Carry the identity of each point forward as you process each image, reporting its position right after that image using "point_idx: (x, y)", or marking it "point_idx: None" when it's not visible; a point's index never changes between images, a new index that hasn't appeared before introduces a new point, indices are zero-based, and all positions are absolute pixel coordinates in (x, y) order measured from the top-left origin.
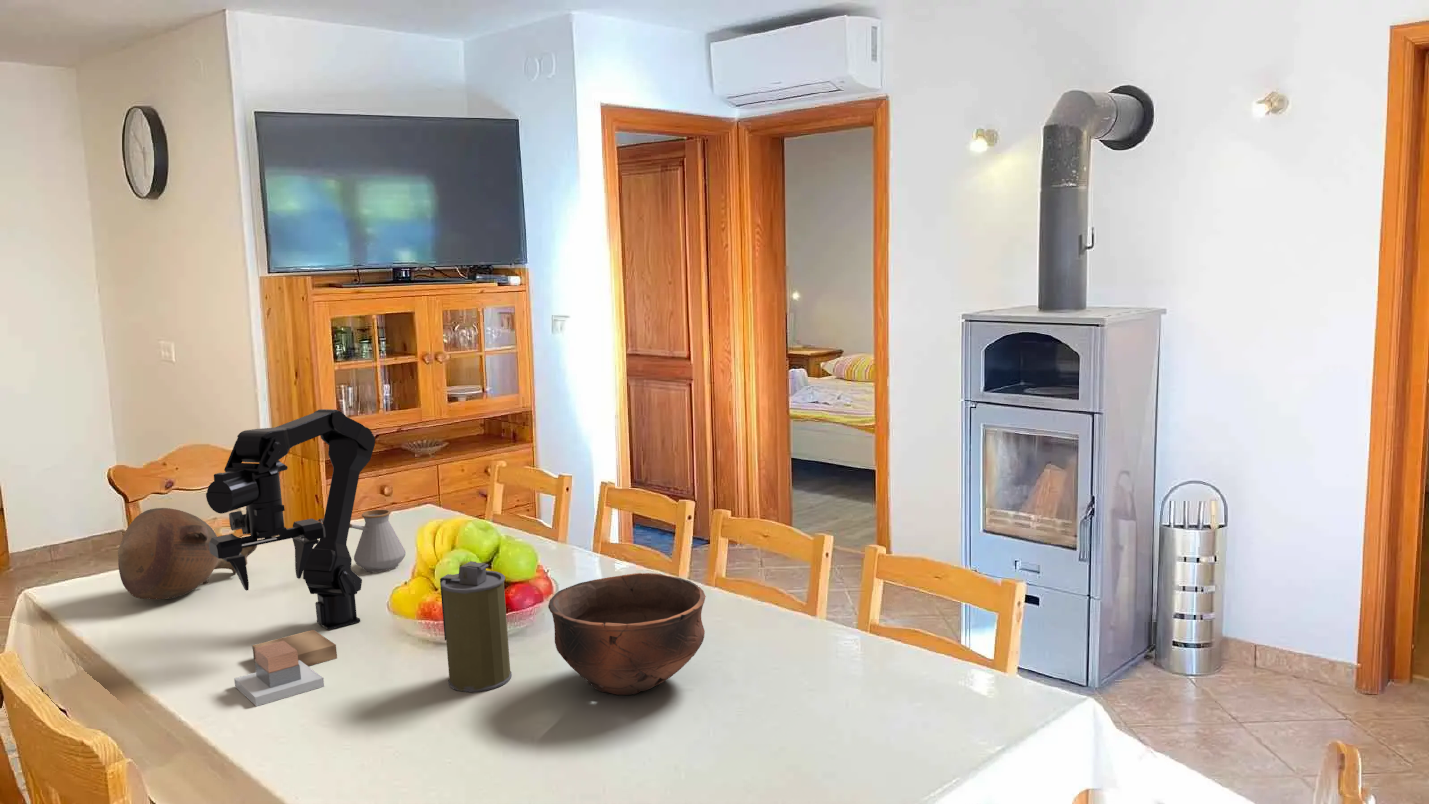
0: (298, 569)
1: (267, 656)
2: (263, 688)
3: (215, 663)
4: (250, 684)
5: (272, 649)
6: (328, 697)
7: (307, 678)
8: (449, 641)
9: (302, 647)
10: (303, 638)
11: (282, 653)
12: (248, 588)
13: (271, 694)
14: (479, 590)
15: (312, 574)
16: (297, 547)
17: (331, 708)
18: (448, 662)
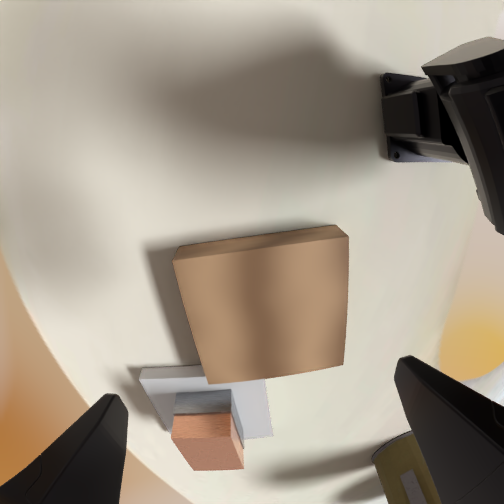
0: (414, 423)
1: (193, 466)
2: None
3: (98, 220)
4: (167, 411)
5: (204, 454)
6: (265, 446)
7: (252, 431)
8: (387, 494)
9: (282, 347)
10: (304, 291)
11: (218, 468)
12: (127, 423)
13: None
14: None
15: (490, 149)
16: (493, 498)
17: (259, 461)
18: (383, 471)
